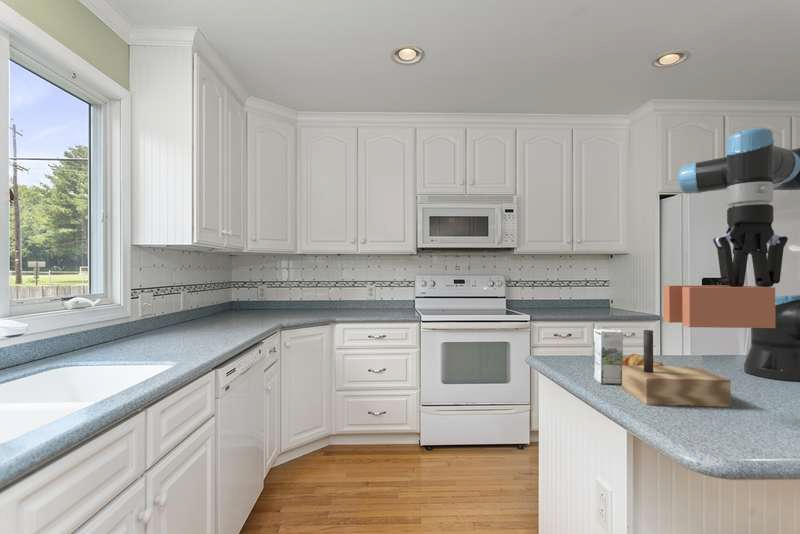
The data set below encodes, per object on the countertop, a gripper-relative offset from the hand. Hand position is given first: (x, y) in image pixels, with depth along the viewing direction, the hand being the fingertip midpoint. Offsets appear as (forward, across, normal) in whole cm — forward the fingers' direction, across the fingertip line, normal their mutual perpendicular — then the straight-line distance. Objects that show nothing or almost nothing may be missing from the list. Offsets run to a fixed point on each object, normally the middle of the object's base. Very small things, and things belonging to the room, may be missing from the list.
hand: (750, 317), depth 89 cm
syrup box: (+21, -19, +26) cm, 38 cm away
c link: (+2, -7, 0) cm, 7 cm away
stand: (+21, -9, +13) cm, 26 cm away
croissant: (+21, -8, +32) cm, 39 cm away
